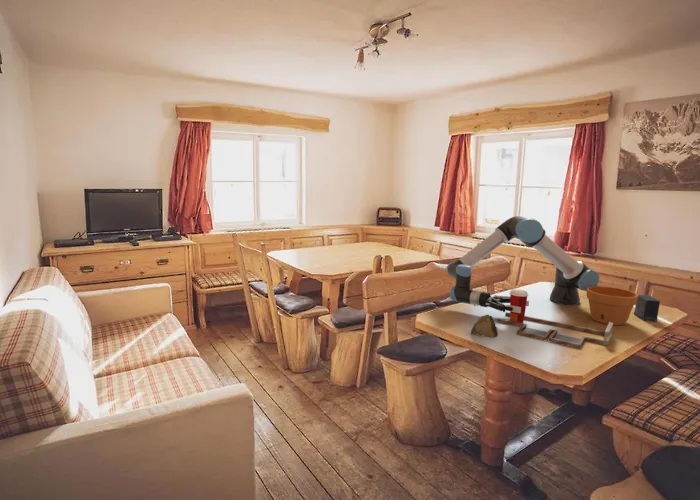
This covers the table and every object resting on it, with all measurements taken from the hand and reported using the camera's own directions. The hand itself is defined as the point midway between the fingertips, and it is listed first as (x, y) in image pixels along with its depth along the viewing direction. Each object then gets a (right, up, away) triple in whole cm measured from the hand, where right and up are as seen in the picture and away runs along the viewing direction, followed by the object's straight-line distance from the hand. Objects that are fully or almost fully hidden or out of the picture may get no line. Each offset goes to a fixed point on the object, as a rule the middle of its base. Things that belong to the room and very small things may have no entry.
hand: (524, 306), depth 199 cm
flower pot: (+43, -8, +6) cm, 44 cm away
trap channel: (+7, -10, -10) cm, 16 cm away
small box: (+65, -7, +11) cm, 66 cm away
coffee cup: (-3, -8, +3) cm, 9 cm away
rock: (-24, -11, -14) cm, 30 cm away
